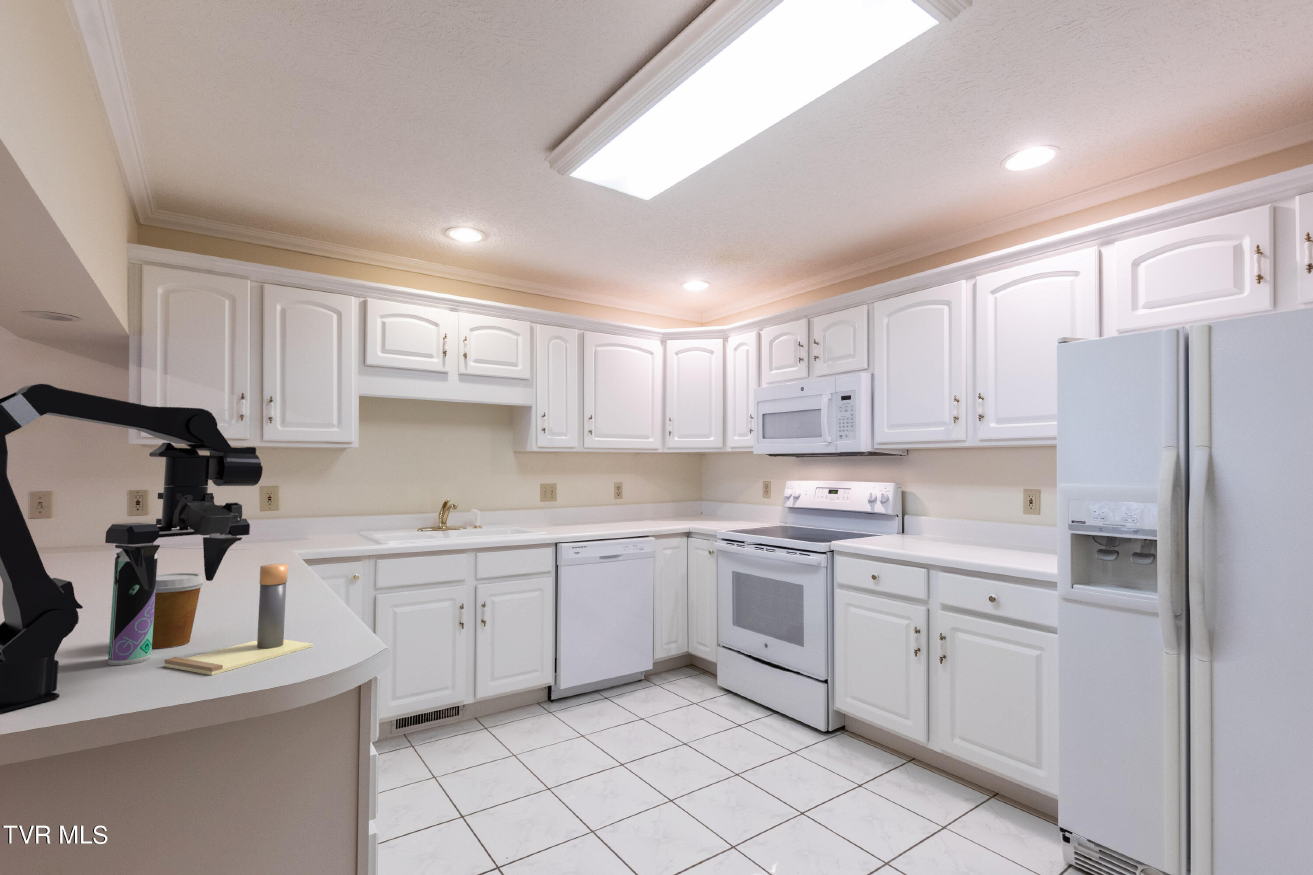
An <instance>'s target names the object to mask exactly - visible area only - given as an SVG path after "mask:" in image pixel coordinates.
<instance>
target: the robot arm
mask: <svg viewBox="0 0 1313 875" xmlns="http://www.w3.org/2000/svg"><path fill="white" fill-rule="evenodd" d="M45 415H47V416H53V417H58V418H59V417H60V418H64V419H65V418H66V419H70V420H75V421H83V422H87V423H88V422H89V423H95V424H101V425H106V426H110V427H111V426H112V427H118V428H125V429H130V430H135V431H139V432H141V433H144V434H147V435H149V436H152V437H154V438H156V439H159V440H163V441H166V442H161V444H160V445H159V446H158V447H157V448H155V449H153V450H152V451H150V452H149V453H148V456H149V457H151V458H165V462H164V463H165V464H164V477H163V479H164V480H163V492H157V500H162V506H161V507H162V511H161V518H156V519H155V523H146V522H129V523H128V522H127V523H112V524H111V525H110V526H109V527H108V528H107V530H106V531H105V540H104V543H105V544H114V547H115V549H121V551H122V550H123V551H124V553H125V554H126V556H127V557H128V559H129V560H130V562H131V563H132V565H133V567H134V568H135V571H136V573H137V574H138V576H139V578H140V580H141V582H142V584H143V586H144V588H145V589H146V590H151V589H152V586H153V581H154V559H155V554H156V555H157V553H158V551H159V549H160V547H161V545H160V544H154V543H155V542H156V541H157V540H158V539H159V538H175V537H184V536H186V537H187V536H204V537H202V546H203V547H202V548H203V551H202V552H203V566H204V576H205V581H207V582H212V581H213V580H214V578H215V576H216V574H217V571H218V570H219V568H220V566H221V564H222V561H223V558H224V557H225V555H226V553H227V552H228V550H229V548H231V547H232V545H234V544H235V543H237V542H239V541H241V540H242V539H243V537H241V536H249V535H251V524H250V523H249V521H248V519H247V518H243V505H242V504H241V503H239V502H226V503H225V504H224V505H223V504H222V505H221V504H215V496H214V493H213V492H209V491H208V490H209V481H211V482H212V483H213V485H215V486H217V487H255V486H256V485H258V484H259V482H260V481H261V479H262V475H263V470H264V468H263V465H262V462H261V459H260V456H258V454H257V447H255V446H241V447H233V446H232V445H231V444H230V442H228V440H227V439H226V437H225V436H224V435H223V433H222V432H221V430H220V429H219V428H218V421H217V419H216V417H215V416H214V415H213V413H212V412H211V411H210V410H207V409H204V408H200V407H199V408H198V407H182V406H180V407H179V406H153V405H152V406H150V405H145V404H141V403H136V402H130V401H125V400H120V399H116V398H110V397H105V396H100V395H94V394H90V393H84V392H79V391H76V390H75V391H74V390H70V389H69V390H68V389H64V388H59V387H56V386H54V385H51V384H48V383H37V384H36V383H35V384H30V385H25V386H23V387H21V388H19V389H18V390H16V391H14V392H12V393H10V394H8V395H6V396H3V397H0V579H1V582H2V596H1V597H2V600H1V605H2V612H3V619H4V620H3V621H1V622H0V713H4V712H10V711H12V710H13V711H14V710H17V709H20V708H24V707H28V706H31V705H36V704H39V703H40V704H41V703H44V702H47V701H50V700H56V699H59V698H60V696H61V695H60V693H58V692H56V691H57V688H58V677H59V676H58V674H59V663H60V661H59V660H57V659H56V654H57V653H58V650H59V649H60V646H61V644H62V643H63V641H64V639H65V638H67V637H68V636H69V635H70V634H71V633H72V632H73V631H74V629H75V628H76V626H77V625H78V623H79V621H80V620H79V619H80V616H79V611H78V610H80V609H81V610H82V609H83V608H84V607H83V605H82V604H80V603H79V602H78V601H77V599H76V594H75V590H74V584H73V582H72V581H71V580H66V579H61V578H57V577H53V578H52V577H51V576H50V575H49V574H48V572H47V571H46V568H45V566H44V564H43V561H42V559H41V555H40V554H39V551H38V549H37V547H36V546H37V545H36V543H35V541H34V538H33V536H32V535H31V534H32V533H31V531H30V529H29V526H28V524H27V522H26V519H25V517H24V514H23V512H22V510H21V507H20V505H19V502H18V499H17V497H16V495H15V492H14V490H13V487H12V484H11V483H10V480H9V478H8V458H9V451H8V445H7V438H6V436H7V435H9V434H11V433H13V432H15V431H18V430H19V429H21V428H23V427H25V426H26V425H29V424H30V423H31V422H33V421H36V420H37V419H38V418H40V417H42V416H45ZM174 444H176V445H184V446H186V447H177V446H174ZM199 452H209V455H208V454H207V455H206V454H200V453H199ZM156 552H157V553H156Z"/></svg>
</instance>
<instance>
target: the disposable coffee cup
mask: <svg viewBox="0 0 1313 875" xmlns="http://www.w3.org/2000/svg"><path fill="white" fill-rule="evenodd" d="M204 583H205V580H203V576H202V573H195V572H194V573H193V572H178V573H177V572H176V573H175V572H174V573H164V574H163V573H161V574H157V575H156V590H155V606H154V621H153V636H152V649H169V648H175V647H179V646H183V645H187V644H189V643H190V641H191V638H192V637H191V636H192V632H193V626H194V622H195V617H196V613H197V609H198V608H197V607H198V603H199V598H200V594H201V588H202V587H203V584H204Z"/></svg>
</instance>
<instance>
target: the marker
mask: <svg viewBox="0 0 1313 875" xmlns="http://www.w3.org/2000/svg"><path fill="white" fill-rule="evenodd" d="M288 567H289V565H288V564H286V563H274V564H273V563H272V564H264V565H263V564H262V565H260V567H259V595H258V596H259V597H258V598H259V599H258V616H257V618H258V619H257V620H258V621H257V636H256V637H257V638H256V640H257V648H259V649H270V648H276V647H280V646H282V645H283V642H284V640H285V617H286V597H287V596H286V594H287V583H288Z"/></svg>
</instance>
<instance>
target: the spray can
mask: <svg viewBox="0 0 1313 875" xmlns="http://www.w3.org/2000/svg"><path fill="white" fill-rule="evenodd" d="M157 554H158V551H157V552H156V554H155V559H154V581H153V586H152V589H151V590H146V589H145V588H144V586H143V584H142V582H141V580H140V578H139V576H138V574H137V573H136V571H135V568H134V567H133V565H132V563H131V562H130V560H129V559H128V557H127V556H126V554H125V553H124V551H123V550H122V549H121V550H120V551H118V552H116V553H115V555H116V556H115V558H114V568H113V570H114V571H113V584H112V596H111V597H112V600H111V612H110V625H109V626H110V627H109V642H108V656H107V657H108V658H107V665H111V666H126V665H133V664H140V663H144V662H146V661H149V660H151V658H152V653H153V652H152V649H153V648H152V636H153V621H154V606H155V590H156V575H158V573H157V572H158V571H157V570H158V559H159V558H158V555H157Z"/></svg>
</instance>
